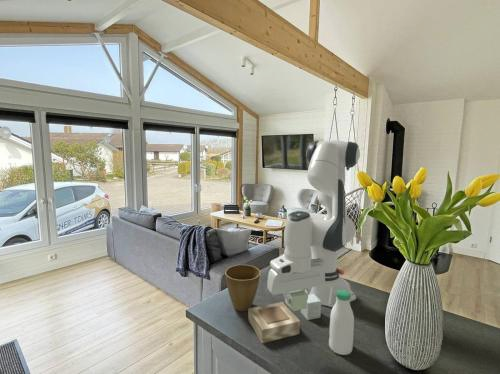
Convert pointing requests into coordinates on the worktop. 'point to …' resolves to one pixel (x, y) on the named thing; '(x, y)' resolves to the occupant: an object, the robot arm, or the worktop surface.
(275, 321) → the birch plinth
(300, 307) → the sage block
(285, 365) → the worktop surface
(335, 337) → the milk bottle
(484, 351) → the worktop surface
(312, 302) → the product box
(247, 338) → the worktop surface
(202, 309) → the worktop surface
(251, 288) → the plant pot
